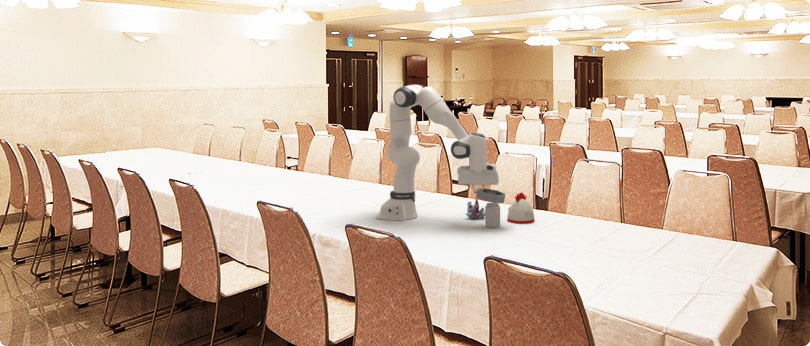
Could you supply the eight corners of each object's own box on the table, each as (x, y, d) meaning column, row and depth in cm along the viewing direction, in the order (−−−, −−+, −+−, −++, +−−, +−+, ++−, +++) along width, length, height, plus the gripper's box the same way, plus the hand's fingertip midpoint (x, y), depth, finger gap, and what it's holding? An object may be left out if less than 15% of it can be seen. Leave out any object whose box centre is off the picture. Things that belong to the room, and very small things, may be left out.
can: (489, 224, 333) (489, 201, 331) (502, 226, 329) (502, 202, 327) (482, 227, 327) (482, 204, 325) (496, 229, 323) (496, 205, 321)
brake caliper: (487, 216, 340) (473, 198, 341) (470, 228, 344) (457, 209, 345) (490, 212, 351) (477, 194, 352) (475, 223, 355) (461, 205, 355)
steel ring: (475, 199, 320) (476, 192, 319) (477, 193, 333) (478, 186, 333) (503, 204, 318) (505, 197, 317) (504, 198, 332) (505, 192, 331)
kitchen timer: (501, 221, 340) (501, 192, 338) (519, 216, 349) (519, 189, 347) (522, 225, 330) (522, 196, 328) (539, 221, 339) (540, 192, 336)
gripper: (456, 167, 323) (457, 194, 325) (498, 166, 319) (498, 194, 321) (457, 165, 329) (458, 192, 331) (498, 165, 325) (498, 192, 328)
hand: (478, 193), depth 326 cm, fingers closed on steel ring, 2 cm apart
